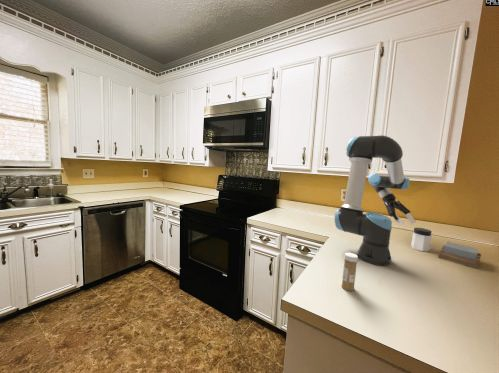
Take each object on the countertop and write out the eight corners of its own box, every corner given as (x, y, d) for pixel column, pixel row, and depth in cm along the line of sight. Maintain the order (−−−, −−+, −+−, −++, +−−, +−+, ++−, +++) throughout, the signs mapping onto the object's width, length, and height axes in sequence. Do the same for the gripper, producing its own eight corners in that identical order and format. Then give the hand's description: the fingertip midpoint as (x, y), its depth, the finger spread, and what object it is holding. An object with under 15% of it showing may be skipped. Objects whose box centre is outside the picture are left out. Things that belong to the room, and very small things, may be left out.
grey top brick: (475, 260, 106) (476, 253, 106) (443, 251, 115) (444, 245, 115) (476, 254, 114) (477, 248, 114) (446, 247, 123) (447, 241, 123)
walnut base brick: (478, 269, 104) (479, 260, 104) (438, 257, 116) (439, 250, 115) (479, 261, 114) (481, 253, 114) (442, 251, 125) (444, 244, 125)
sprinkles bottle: (354, 292, 79) (358, 258, 78) (341, 289, 81) (345, 255, 79) (353, 286, 83) (357, 253, 82) (341, 283, 85) (344, 251, 83)
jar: (420, 246, 132) (423, 227, 131) (432, 251, 124) (436, 231, 123) (407, 245, 131) (410, 227, 130) (418, 251, 123) (422, 231, 122)
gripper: (393, 198, 154) (413, 224, 143) (371, 199, 143) (390, 227, 132) (402, 192, 149) (423, 219, 137) (379, 193, 138) (401, 222, 126)
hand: (407, 223), depth 134 cm, fingers open, 13 cm apart
